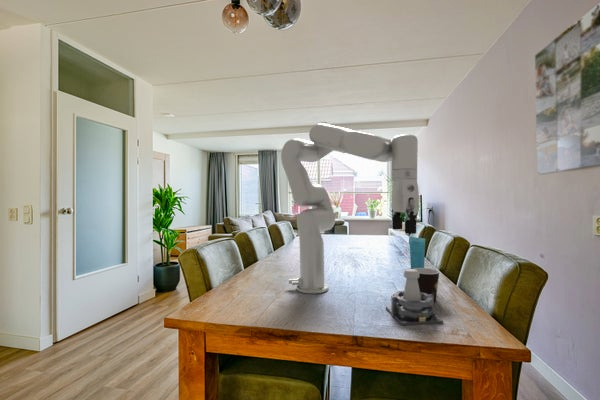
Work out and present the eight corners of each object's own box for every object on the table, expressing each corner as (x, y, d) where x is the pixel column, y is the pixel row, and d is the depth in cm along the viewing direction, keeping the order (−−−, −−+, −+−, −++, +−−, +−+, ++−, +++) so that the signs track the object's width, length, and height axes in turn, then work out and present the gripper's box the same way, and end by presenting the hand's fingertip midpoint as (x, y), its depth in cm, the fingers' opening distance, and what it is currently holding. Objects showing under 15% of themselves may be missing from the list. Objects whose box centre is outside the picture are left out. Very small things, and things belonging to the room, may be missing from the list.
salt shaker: (416, 308, 90) (416, 267, 90) (426, 316, 84) (425, 271, 84) (398, 309, 89) (398, 267, 89) (407, 317, 83) (406, 272, 83)
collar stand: (400, 325, 80) (400, 304, 80) (385, 308, 92) (384, 290, 92) (444, 323, 81) (444, 302, 81) (423, 307, 93) (422, 288, 93)
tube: (429, 285, 115) (428, 237, 115) (423, 288, 112) (422, 239, 112) (412, 281, 121) (411, 236, 121) (405, 283, 118) (405, 237, 118)
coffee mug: (428, 306, 94) (427, 275, 94) (407, 298, 101) (406, 269, 101) (450, 299, 99) (450, 270, 99) (429, 292, 107) (429, 265, 107)
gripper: (430, 174, 80) (429, 235, 81) (404, 177, 97) (403, 227, 98) (404, 174, 80) (403, 235, 80) (382, 177, 97) (381, 227, 97)
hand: (403, 231), depth 89 cm, fingers open, 9 cm apart
